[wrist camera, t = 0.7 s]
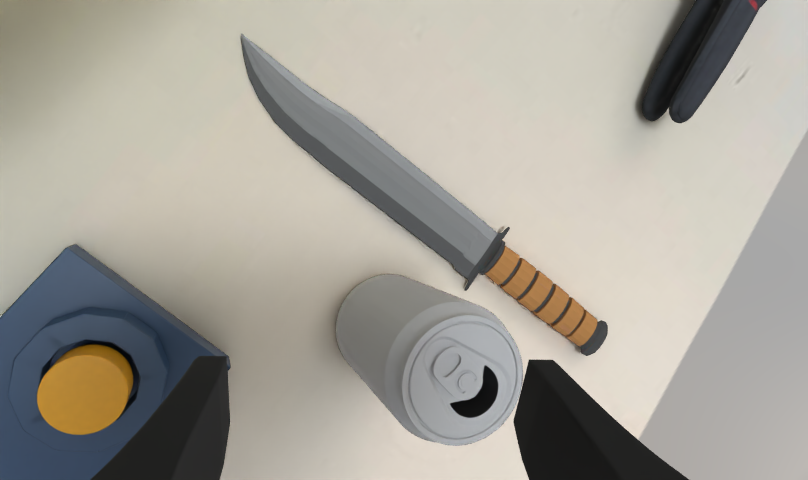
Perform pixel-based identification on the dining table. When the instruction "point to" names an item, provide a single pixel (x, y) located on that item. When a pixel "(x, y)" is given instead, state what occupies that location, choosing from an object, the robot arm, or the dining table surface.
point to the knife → (412, 197)
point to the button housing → (72, 327)
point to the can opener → (697, 57)
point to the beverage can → (431, 358)
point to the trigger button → (85, 389)
